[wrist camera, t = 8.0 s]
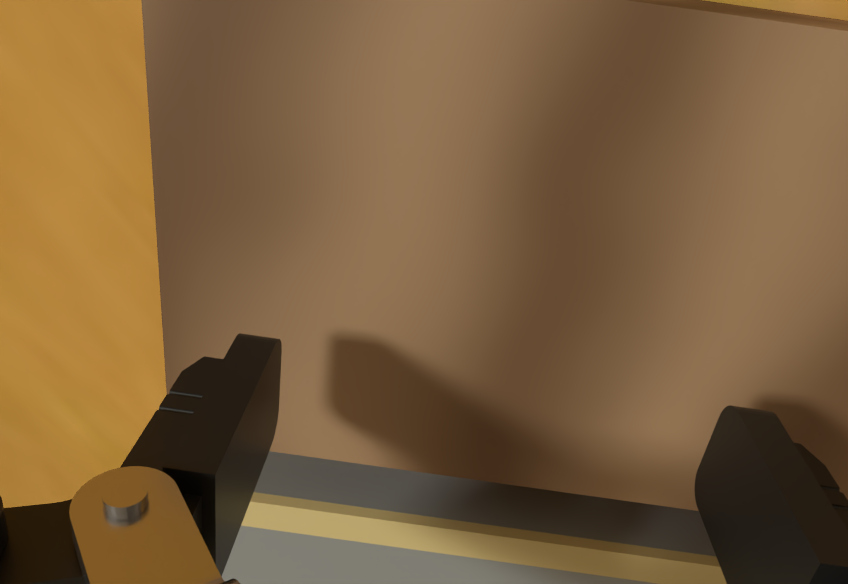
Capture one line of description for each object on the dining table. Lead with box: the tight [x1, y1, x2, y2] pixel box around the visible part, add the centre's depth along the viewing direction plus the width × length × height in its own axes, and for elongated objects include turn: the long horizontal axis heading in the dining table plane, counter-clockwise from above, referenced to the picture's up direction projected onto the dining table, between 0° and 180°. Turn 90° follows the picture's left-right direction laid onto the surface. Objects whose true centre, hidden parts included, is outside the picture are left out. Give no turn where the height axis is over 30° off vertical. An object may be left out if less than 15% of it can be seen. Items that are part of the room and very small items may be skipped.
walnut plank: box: [142, 0, 848, 511], centre depth 14 cm, size 16×10×2 cm, turn 83°
